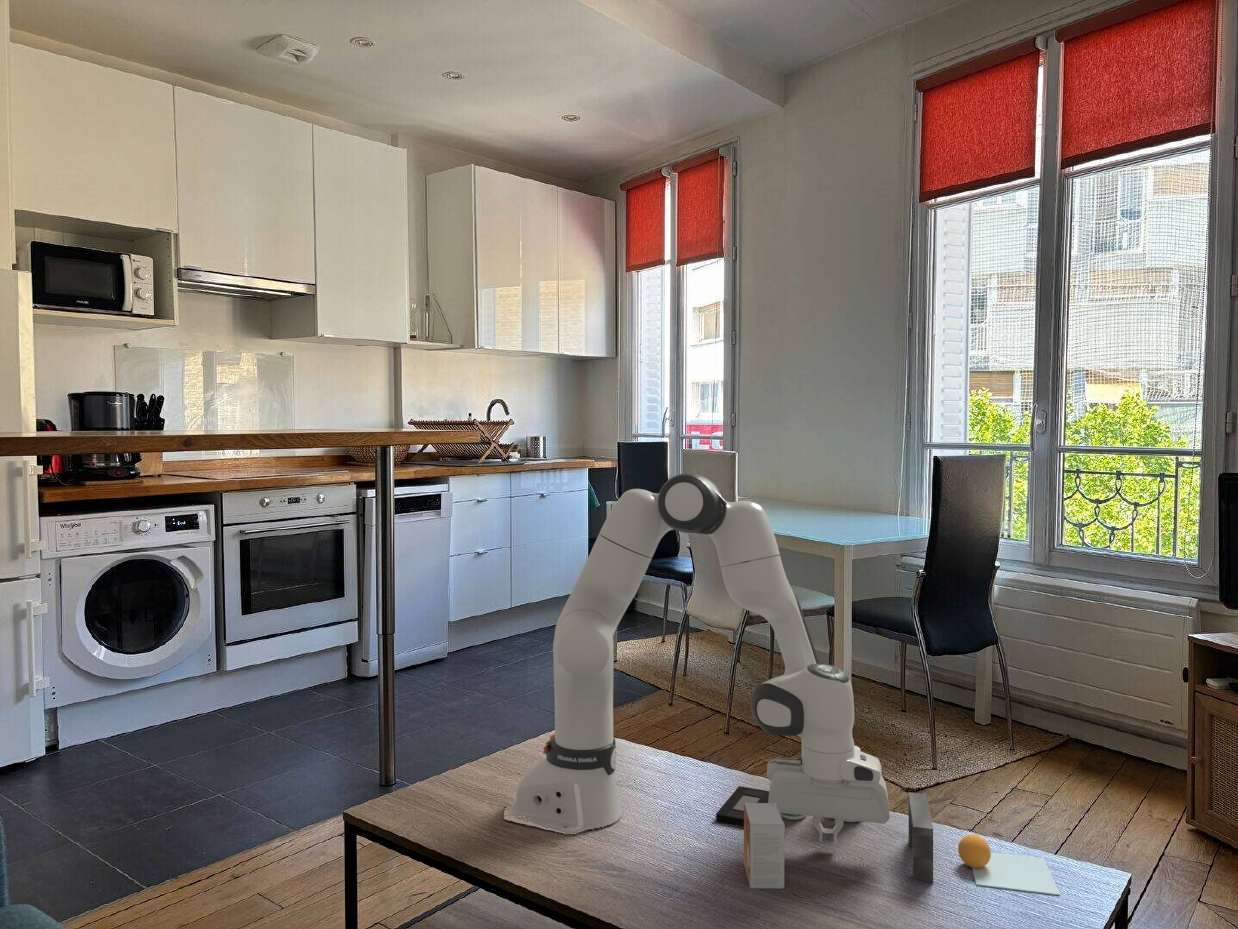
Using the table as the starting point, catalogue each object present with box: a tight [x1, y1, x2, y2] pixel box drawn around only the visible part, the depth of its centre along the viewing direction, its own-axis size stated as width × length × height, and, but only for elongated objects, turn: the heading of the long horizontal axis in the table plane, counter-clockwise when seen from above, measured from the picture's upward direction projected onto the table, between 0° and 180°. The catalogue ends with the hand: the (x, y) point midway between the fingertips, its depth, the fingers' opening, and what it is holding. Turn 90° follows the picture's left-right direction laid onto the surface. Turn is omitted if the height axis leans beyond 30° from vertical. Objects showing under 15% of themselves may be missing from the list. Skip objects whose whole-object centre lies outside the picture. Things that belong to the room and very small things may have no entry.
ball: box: [957, 834, 992, 868], centre depth 141 cm, size 5×5×5 cm
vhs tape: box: [715, 785, 769, 828], centre depth 164 cm, size 8×14×2 cm, turn 155°
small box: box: [743, 803, 786, 890], centre depth 138 cm, size 8×6×10 cm
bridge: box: [908, 792, 934, 884], centre depth 143 cm, size 3×14×9 cm, turn 164°
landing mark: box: [971, 851, 1061, 897], centre depth 139 cm, size 12×12×1 cm
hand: (828, 841), depth 147 cm, fingers closed
